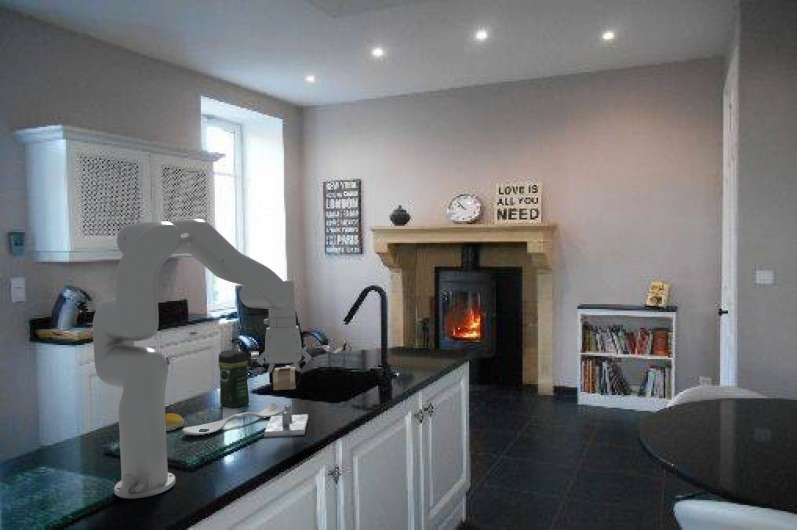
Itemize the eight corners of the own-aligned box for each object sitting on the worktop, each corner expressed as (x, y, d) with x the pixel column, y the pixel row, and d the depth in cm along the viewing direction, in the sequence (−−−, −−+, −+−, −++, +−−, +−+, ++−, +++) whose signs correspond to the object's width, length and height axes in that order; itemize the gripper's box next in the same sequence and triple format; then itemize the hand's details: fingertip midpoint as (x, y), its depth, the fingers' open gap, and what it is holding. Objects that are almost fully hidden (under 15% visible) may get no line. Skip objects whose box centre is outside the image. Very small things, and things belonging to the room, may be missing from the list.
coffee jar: (253, 404, 199) (251, 349, 198) (233, 409, 192) (231, 353, 192) (235, 400, 205) (233, 347, 204) (216, 405, 198) (214, 351, 198)
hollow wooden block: (295, 388, 166) (294, 371, 165) (273, 390, 165) (272, 372, 165) (296, 383, 172) (296, 366, 171) (276, 384, 171) (275, 367, 171)
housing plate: (304, 434, 165) (303, 415, 165) (264, 436, 164) (264, 417, 164) (308, 419, 180) (307, 401, 180) (271, 420, 179) (271, 403, 179)
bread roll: (154, 434, 170) (153, 420, 170) (155, 425, 178) (155, 412, 178) (184, 430, 173) (184, 417, 173) (184, 422, 181) (183, 409, 181)
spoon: (290, 417, 183) (289, 406, 183) (191, 443, 162) (190, 430, 161) (275, 411, 190) (274, 401, 190) (177, 435, 168) (177, 423, 168)
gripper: (249, 326, 163) (252, 390, 164) (312, 323, 164) (314, 386, 165) (254, 322, 170) (256, 383, 171) (313, 319, 172) (316, 380, 173)
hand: (285, 384), depth 168 cm, fingers closed on hollow wooden block, 6 cm apart
